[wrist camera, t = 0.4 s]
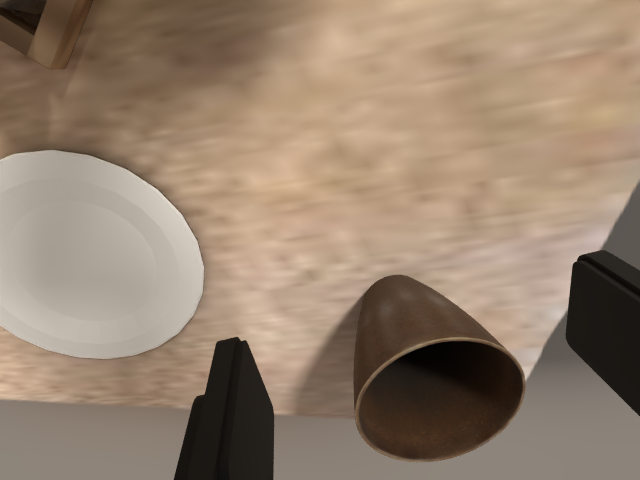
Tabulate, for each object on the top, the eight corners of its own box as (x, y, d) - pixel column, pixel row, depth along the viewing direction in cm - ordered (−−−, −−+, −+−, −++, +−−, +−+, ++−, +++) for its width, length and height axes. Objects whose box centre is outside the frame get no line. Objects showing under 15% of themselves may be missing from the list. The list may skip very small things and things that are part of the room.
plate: (227, 186, 39) (225, 191, 37) (187, 365, 49) (184, 375, 47) (-55, 111, 33) (-71, 114, 32) (-37, 330, 43) (-48, 340, 42)
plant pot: (333, 352, 50) (355, 472, 35) (329, 252, 43) (354, 349, 29) (444, 340, 50) (509, 452, 36) (456, 241, 44) (542, 329, 30)
